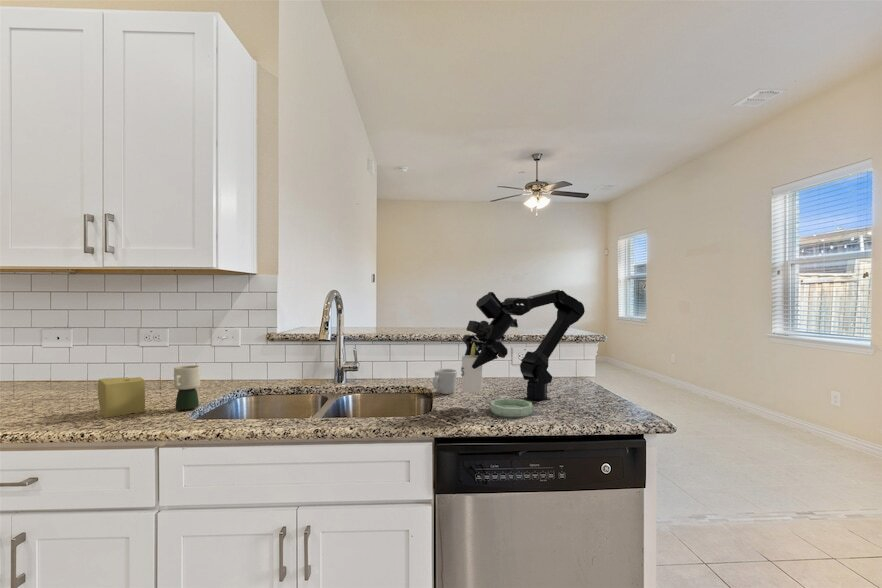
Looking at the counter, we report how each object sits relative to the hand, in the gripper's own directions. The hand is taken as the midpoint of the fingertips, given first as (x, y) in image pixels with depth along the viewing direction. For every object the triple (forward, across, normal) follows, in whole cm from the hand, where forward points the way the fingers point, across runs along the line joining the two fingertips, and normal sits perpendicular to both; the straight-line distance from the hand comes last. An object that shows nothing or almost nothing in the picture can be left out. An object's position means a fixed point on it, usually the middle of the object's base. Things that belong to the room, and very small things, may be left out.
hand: (467, 366), depth 136 cm
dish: (+3, +10, +16) cm, 19 cm away
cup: (+7, -23, +12) cm, 27 cm away
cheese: (+75, -44, -58) cm, 105 cm away
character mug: (+63, -39, -46) cm, 87 cm away
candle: (+5, 0, +6) cm, 8 cm away
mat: (+3, +10, +16) cm, 19 cm away
